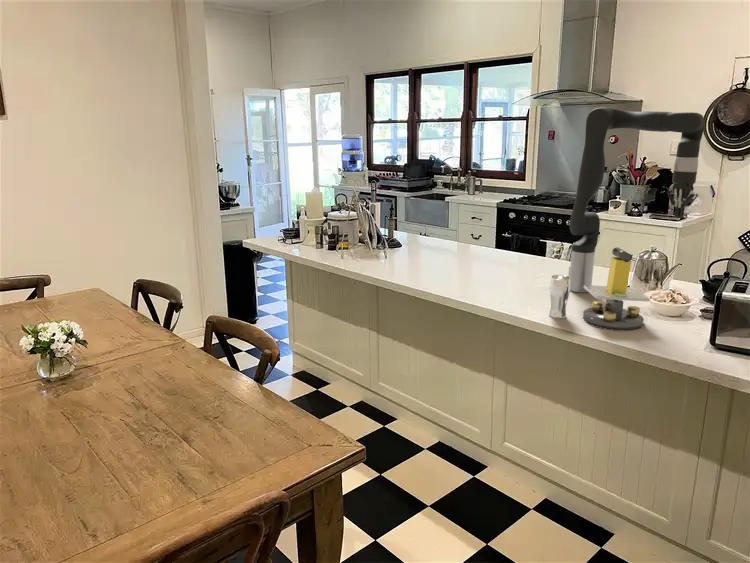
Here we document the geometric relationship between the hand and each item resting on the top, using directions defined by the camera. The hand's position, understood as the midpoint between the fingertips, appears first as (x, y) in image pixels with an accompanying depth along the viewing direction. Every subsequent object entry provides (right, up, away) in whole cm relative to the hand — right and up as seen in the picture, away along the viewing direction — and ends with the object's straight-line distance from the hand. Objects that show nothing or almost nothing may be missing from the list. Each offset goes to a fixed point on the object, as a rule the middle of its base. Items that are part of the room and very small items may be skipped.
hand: (678, 217), depth 204 cm
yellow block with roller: (-27, -28, -8) cm, 40 cm away
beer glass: (-45, -37, +1) cm, 58 cm away
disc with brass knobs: (-27, -38, -5) cm, 47 cm away
